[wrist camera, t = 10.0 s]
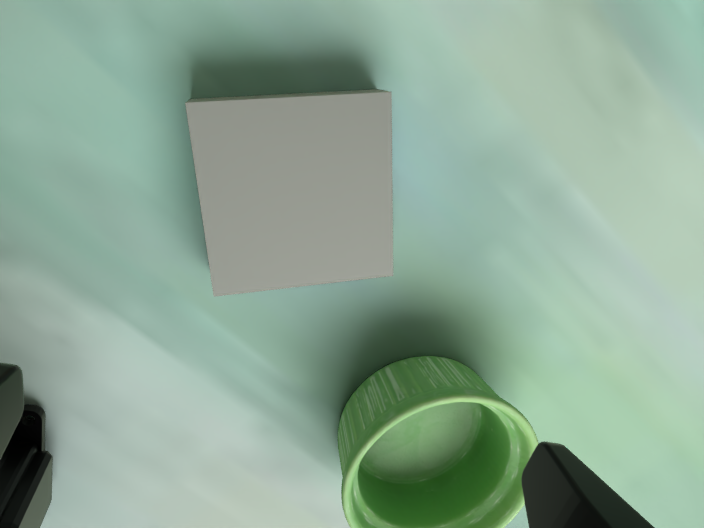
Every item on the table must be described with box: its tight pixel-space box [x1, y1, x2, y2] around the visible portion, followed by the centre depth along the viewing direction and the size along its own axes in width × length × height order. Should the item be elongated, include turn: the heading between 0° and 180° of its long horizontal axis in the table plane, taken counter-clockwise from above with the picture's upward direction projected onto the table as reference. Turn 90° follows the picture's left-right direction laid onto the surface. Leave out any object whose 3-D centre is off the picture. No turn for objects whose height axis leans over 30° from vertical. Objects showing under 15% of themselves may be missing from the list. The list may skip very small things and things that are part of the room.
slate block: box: [185, 89, 393, 296], centre depth 20 cm, size 7×7×2 cm
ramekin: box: [338, 356, 538, 528], centre depth 25 cm, size 9×9×4 cm
